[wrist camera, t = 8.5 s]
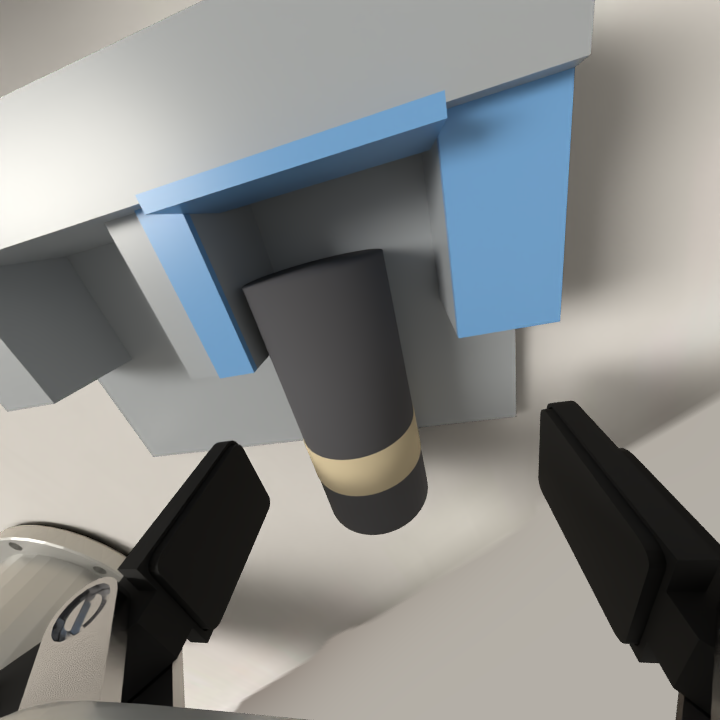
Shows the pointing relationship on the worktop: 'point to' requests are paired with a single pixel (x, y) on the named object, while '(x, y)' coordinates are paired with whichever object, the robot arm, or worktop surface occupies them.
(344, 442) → the banded gray canister
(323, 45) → the grey ledge plate
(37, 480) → the worktop surface
